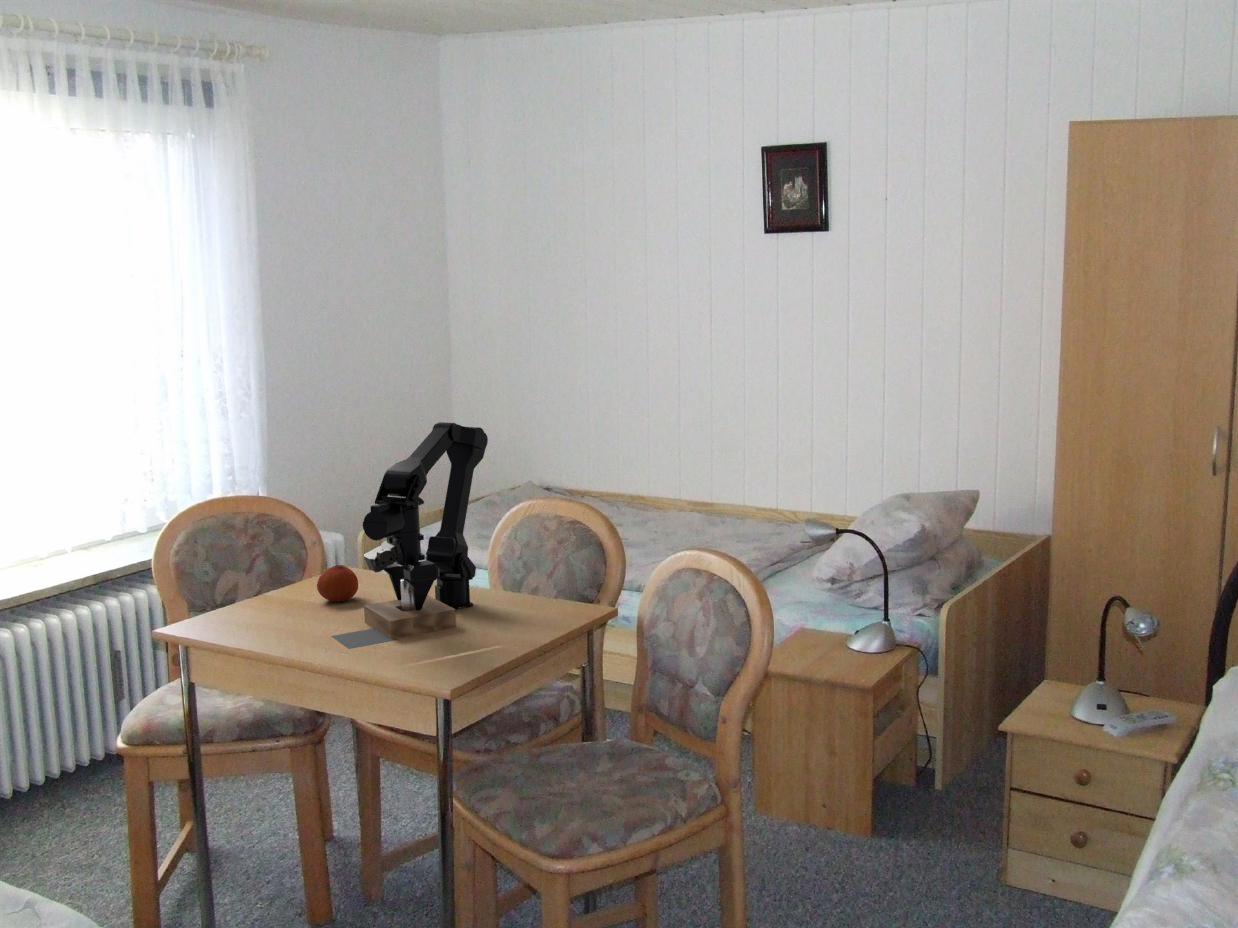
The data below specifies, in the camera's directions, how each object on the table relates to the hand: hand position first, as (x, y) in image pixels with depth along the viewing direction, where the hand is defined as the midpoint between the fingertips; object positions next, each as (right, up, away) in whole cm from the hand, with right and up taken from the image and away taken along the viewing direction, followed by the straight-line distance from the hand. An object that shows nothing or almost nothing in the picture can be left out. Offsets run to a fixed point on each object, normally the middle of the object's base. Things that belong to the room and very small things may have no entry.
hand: (409, 604), depth 254 cm
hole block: (0, -4, +1) cm, 4 cm away
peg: (0, -4, +1) cm, 4 cm away
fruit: (-19, -2, +21) cm, 29 cm away
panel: (-8, -6, -8) cm, 12 cm away
